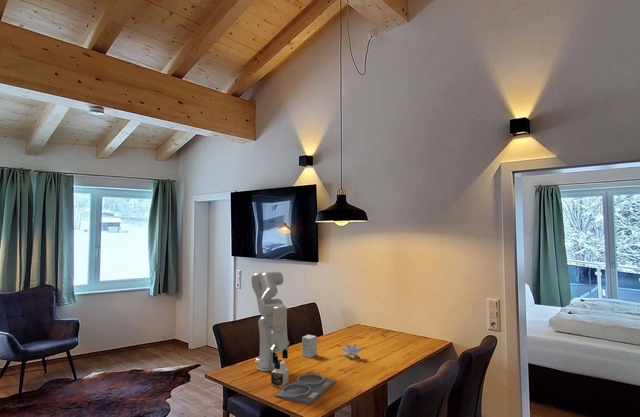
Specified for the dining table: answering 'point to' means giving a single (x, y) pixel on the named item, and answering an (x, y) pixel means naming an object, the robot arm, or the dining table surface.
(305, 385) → the steel rings
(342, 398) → the dining table surface
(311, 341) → the supplement box
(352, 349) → the water lily
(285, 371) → the medicine bottle
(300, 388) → the socket board
